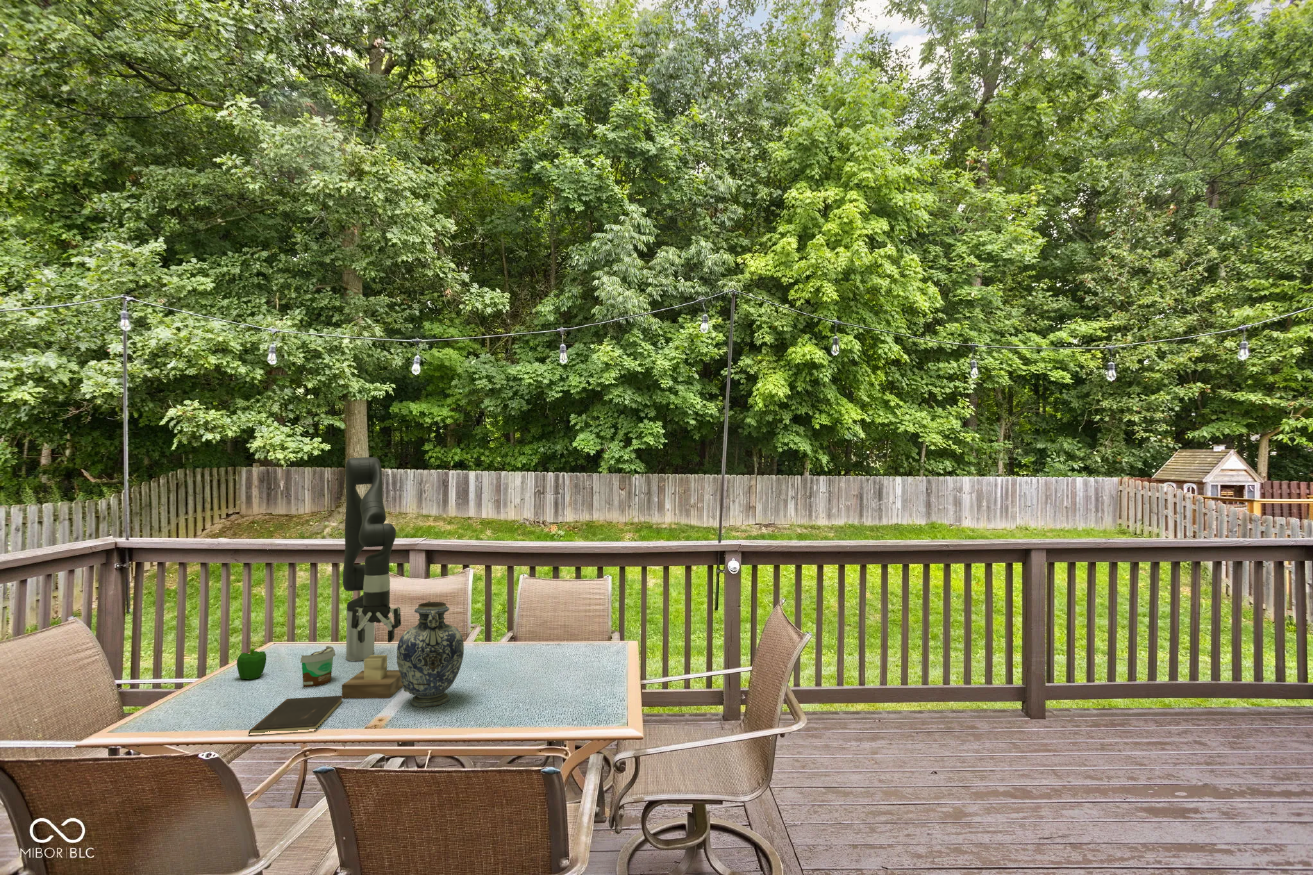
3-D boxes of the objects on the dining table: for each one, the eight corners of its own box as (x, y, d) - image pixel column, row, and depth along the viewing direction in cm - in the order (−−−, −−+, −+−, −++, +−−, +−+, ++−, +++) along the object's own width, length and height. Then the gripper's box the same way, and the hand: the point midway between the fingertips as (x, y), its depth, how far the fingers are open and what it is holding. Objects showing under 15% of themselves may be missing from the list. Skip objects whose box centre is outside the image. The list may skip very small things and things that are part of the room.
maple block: (370, 674, 207) (371, 655, 208) (387, 674, 207) (387, 654, 208) (363, 679, 202) (364, 659, 203) (380, 679, 202) (380, 659, 203)
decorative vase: (394, 693, 201) (396, 599, 202) (458, 686, 208) (460, 595, 210) (396, 718, 181) (399, 613, 183) (467, 709, 189) (469, 608, 190)
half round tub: (317, 689, 206) (317, 656, 206) (299, 688, 207) (300, 655, 207) (343, 677, 218) (344, 646, 218) (326, 676, 219) (327, 645, 219)
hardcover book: (343, 703, 195) (343, 695, 195) (315, 734, 172) (315, 725, 172) (284, 706, 193) (284, 698, 193) (248, 738, 170) (248, 729, 170)
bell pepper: (240, 675, 221) (240, 644, 221) (268, 672, 223) (268, 642, 224) (232, 683, 213) (233, 651, 213) (262, 680, 215) (262, 648, 216)
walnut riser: (362, 683, 212) (362, 670, 212) (406, 682, 212) (406, 669, 212) (341, 698, 198) (342, 684, 198) (389, 697, 198) (389, 684, 198)
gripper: (404, 586, 210) (403, 638, 209) (358, 586, 210) (358, 638, 209) (395, 591, 202) (394, 645, 202) (348, 591, 202) (347, 645, 202)
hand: (376, 642), depth 205 cm, fingers open, 8 cm apart
